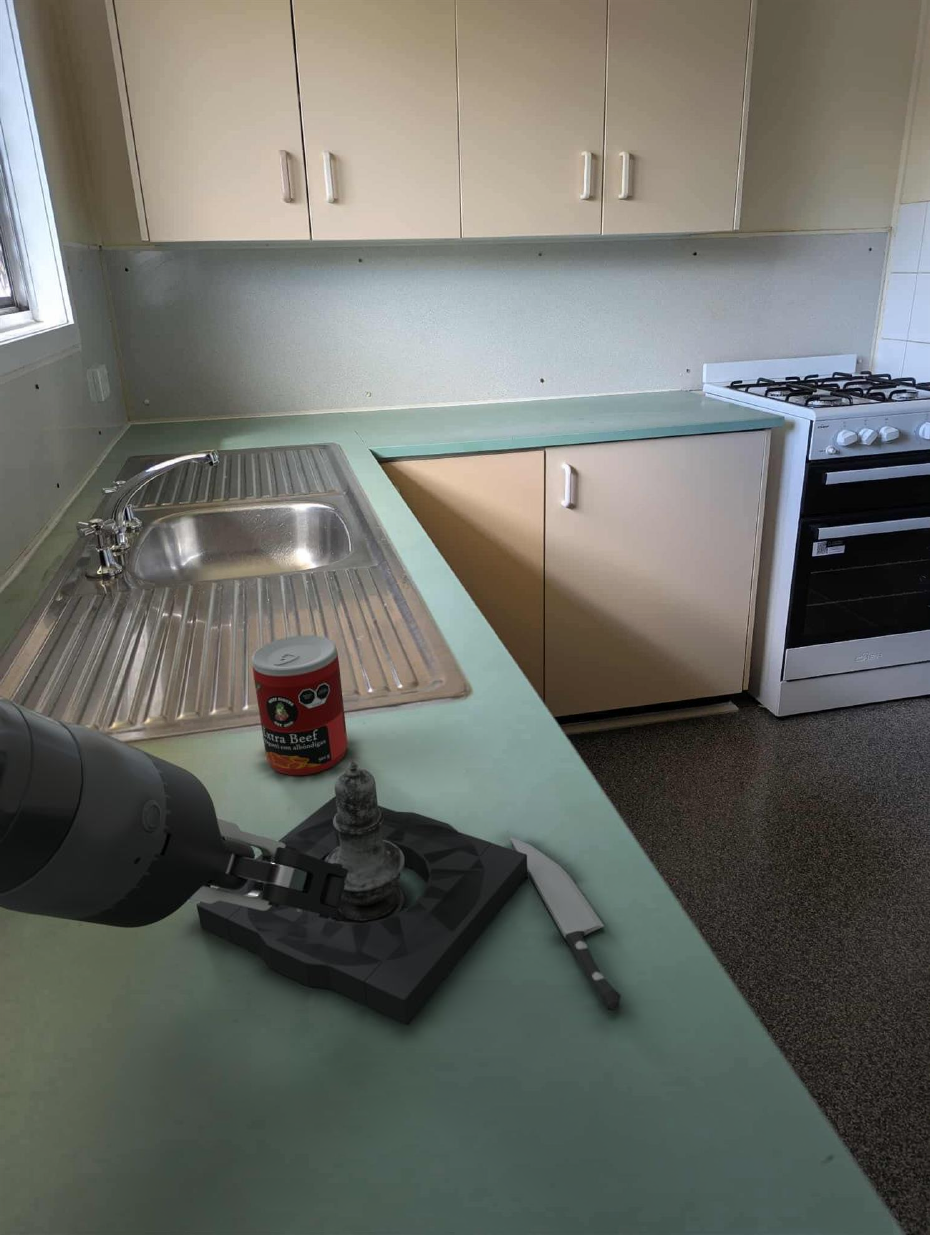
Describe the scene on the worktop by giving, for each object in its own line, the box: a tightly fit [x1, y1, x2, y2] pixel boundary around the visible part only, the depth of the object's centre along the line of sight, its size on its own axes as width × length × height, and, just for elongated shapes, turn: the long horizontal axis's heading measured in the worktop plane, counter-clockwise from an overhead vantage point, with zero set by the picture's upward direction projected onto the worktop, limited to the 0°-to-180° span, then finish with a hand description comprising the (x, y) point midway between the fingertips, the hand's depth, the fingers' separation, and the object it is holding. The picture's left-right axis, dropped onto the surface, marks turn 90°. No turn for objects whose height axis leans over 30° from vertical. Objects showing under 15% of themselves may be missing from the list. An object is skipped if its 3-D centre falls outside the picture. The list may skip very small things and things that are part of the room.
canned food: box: [251, 634, 348, 776], centre depth 82 cm, size 8×8×11 cm
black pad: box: [196, 795, 529, 1025], centre depth 64 cm, size 18×17×2 cm
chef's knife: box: [509, 836, 622, 1012], centre depth 62 cm, size 19×1×3 cm
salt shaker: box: [325, 760, 405, 923], centre depth 62 cm, size 6×6×12 cm
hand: (269, 879), depth 51 cm, fingers open, 8 cm apart
